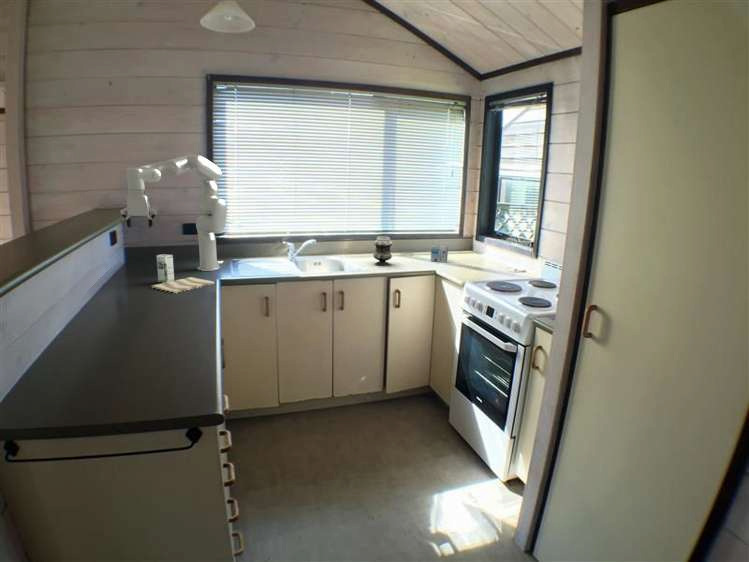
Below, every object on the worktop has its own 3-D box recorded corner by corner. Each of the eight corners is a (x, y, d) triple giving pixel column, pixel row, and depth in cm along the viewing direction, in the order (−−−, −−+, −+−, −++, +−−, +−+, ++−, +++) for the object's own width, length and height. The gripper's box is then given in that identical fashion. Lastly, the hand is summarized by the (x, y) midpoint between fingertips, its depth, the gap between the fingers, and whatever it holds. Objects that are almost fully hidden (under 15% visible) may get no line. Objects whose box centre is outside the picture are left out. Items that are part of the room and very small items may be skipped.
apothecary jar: (391, 266, 305) (392, 238, 301) (372, 266, 305) (373, 238, 301) (391, 262, 316) (392, 236, 312) (373, 262, 317) (374, 235, 312)
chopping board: (191, 279, 258) (191, 277, 258) (214, 283, 249) (214, 281, 249) (151, 288, 238) (151, 285, 237) (175, 293, 229) (175, 291, 229)
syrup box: (157, 282, 248) (155, 255, 245) (166, 280, 254) (164, 253, 250) (166, 284, 246) (164, 256, 243) (174, 281, 252) (172, 254, 248)
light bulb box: (430, 261, 324) (431, 246, 322) (432, 259, 331) (432, 244, 328) (445, 262, 321) (446, 247, 319) (447, 261, 328) (448, 245, 325)
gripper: (157, 192, 243) (160, 226, 247) (120, 192, 239) (123, 226, 243) (154, 193, 236) (156, 228, 240) (115, 193, 232) (119, 228, 236)
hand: (140, 227), depth 242 cm, fingers open, 9 cm apart
